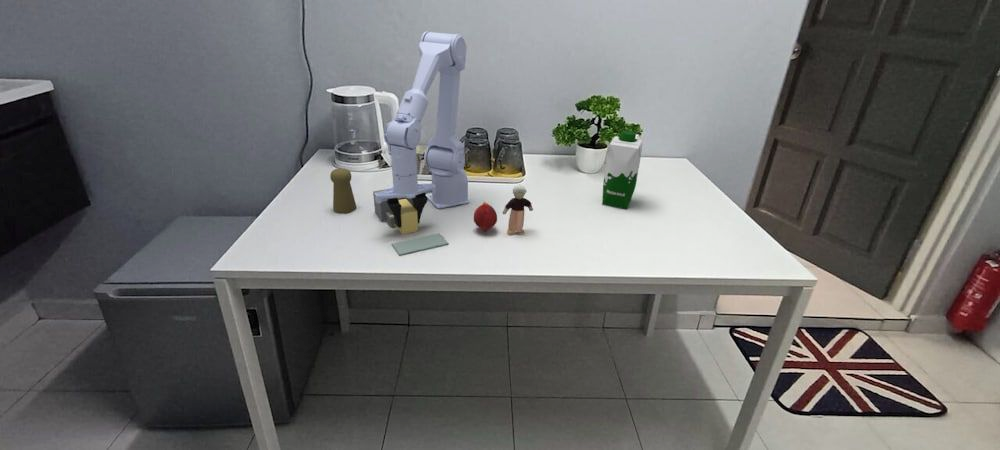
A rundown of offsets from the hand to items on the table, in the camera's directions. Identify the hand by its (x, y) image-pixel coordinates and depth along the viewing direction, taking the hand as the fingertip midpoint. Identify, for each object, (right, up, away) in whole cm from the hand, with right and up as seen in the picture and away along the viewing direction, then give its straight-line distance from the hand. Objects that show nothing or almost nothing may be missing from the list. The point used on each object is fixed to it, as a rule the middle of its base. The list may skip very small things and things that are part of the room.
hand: (407, 223), depth 120 cm
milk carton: (+56, +6, +20) cm, 60 cm away
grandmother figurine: (+27, -2, +2) cm, 27 cm away
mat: (+4, -5, -6) cm, 8 cm away
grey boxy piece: (-4, +2, +7) cm, 9 cm away
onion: (+19, -2, +2) cm, 19 cm away
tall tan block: (-1, 0, +3) cm, 3 cm away
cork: (-19, +4, +10) cm, 22 cm away
